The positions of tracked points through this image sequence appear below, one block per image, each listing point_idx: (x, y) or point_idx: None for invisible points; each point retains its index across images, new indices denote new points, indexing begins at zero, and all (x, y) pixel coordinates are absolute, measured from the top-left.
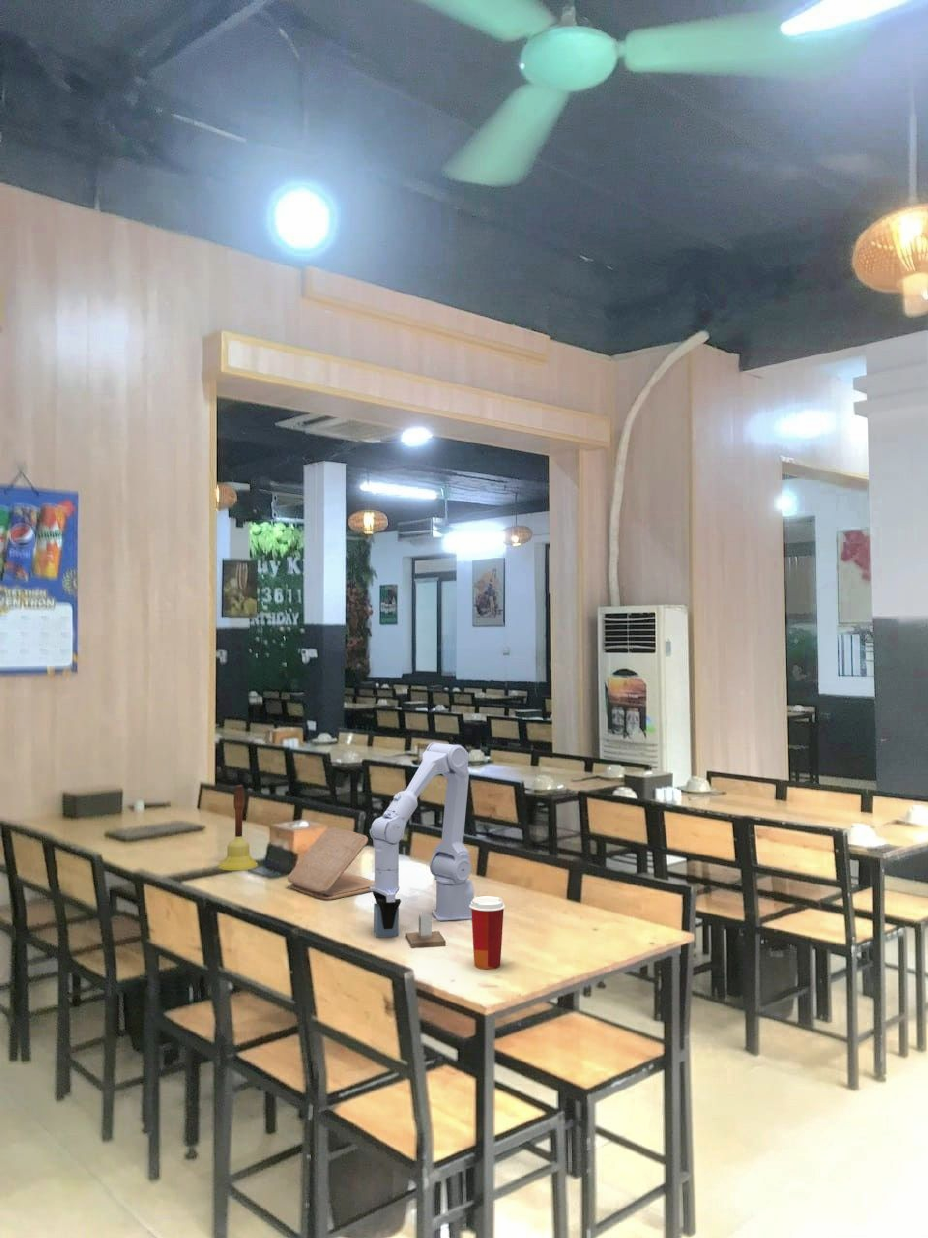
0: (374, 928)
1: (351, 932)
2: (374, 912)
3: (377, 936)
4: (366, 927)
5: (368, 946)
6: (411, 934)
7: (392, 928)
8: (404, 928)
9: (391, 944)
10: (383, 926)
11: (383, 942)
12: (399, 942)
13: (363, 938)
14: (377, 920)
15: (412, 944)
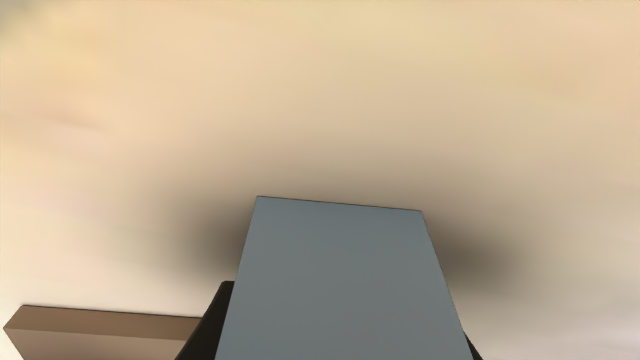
0: (402, 227)
1: (492, 32)
2: (445, 348)
3: (256, 204)
4: (547, 185)
5: (25, 89)
6: None
7: None
8: None
9: (92, 240)
10: (216, 297)
11: (138, 209)
12: (135, 282)
13: (264, 99)
14: (229, 309)
15: (7, 328)
